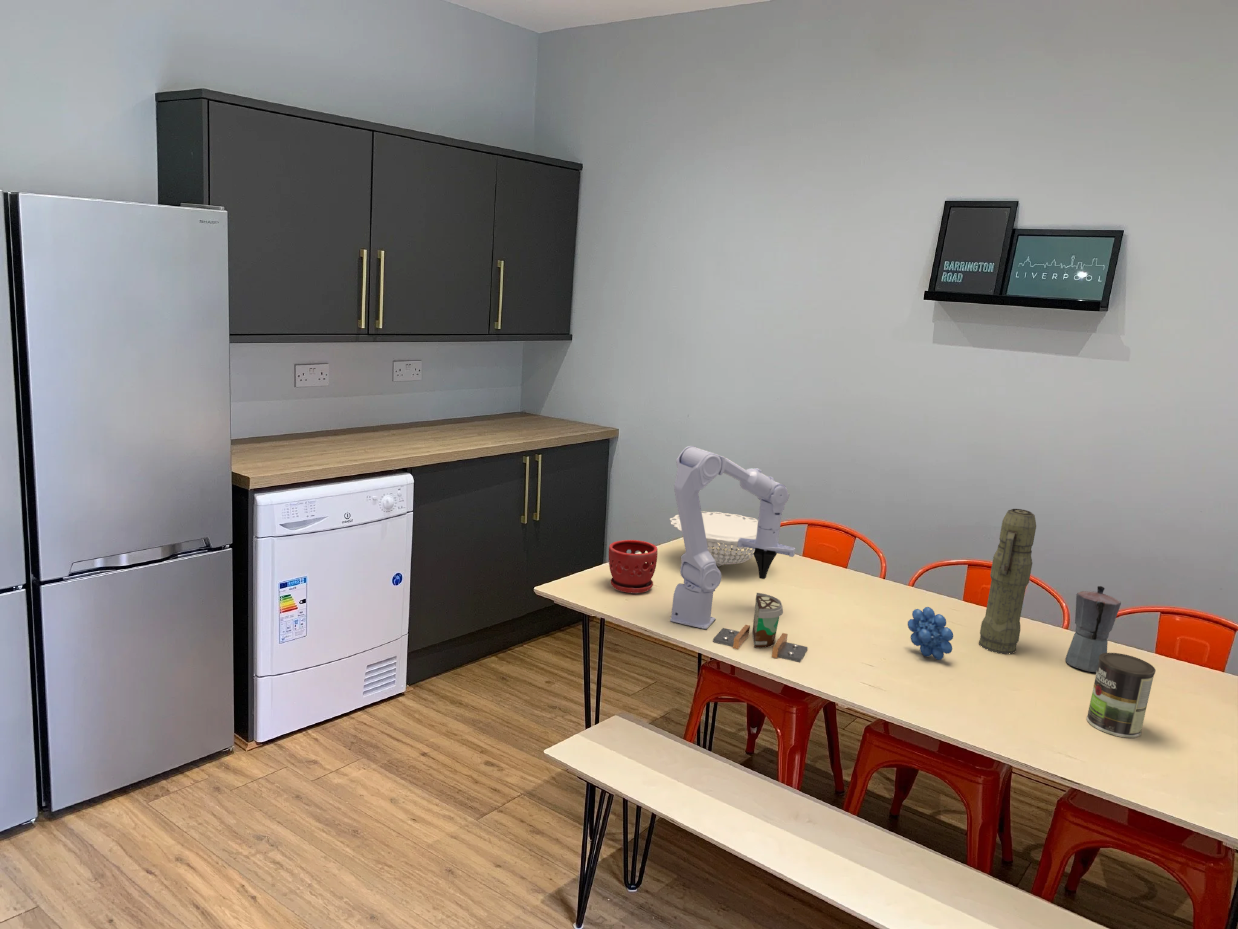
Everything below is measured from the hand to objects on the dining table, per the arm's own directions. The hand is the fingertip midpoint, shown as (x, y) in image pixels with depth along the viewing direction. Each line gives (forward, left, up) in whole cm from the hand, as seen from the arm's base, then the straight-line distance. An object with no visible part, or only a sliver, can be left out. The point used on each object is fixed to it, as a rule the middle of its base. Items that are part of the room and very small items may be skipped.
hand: (762, 577), depth 237 cm
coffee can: (+81, -21, -10) cm, 84 cm away
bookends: (+6, -22, -9) cm, 25 cm away
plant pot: (-35, -3, -10) cm, 36 cm away
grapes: (+42, -6, -10) cm, 43 cm away
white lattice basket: (-20, +31, -10) cm, 38 cm away
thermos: (+58, +12, -10) cm, 60 cm away
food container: (+6, -18, -10) cm, 22 cm away
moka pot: (+78, +11, -10) cm, 79 cm away
